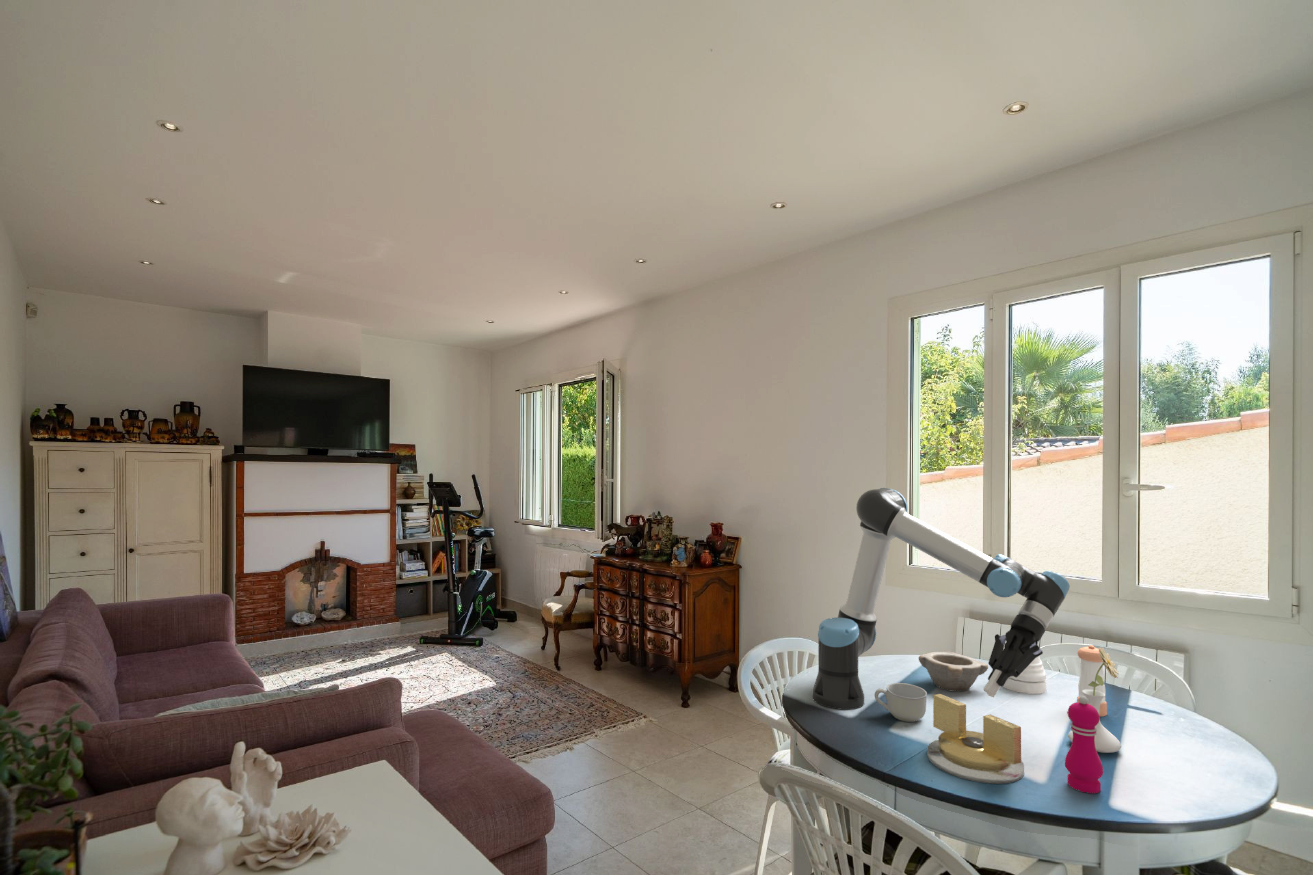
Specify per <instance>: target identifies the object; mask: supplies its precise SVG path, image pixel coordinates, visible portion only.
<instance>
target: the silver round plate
mask: <svg viewBox="0 0 1313 875" xmlns="http://www.w3.org/2000/svg"><path fill="white" fill-rule="evenodd" d="M927 758H928V760H929V762H930V763H931V764H933V766H935V767H936V768H938V769H939V770H941V771H943V772H945V773H947V774H949V775H951V776H954V777H957V778H960V779H964V780H967V781H971V782H976V783H983V784H991V785H992V784H993V785H994V784H996V785H997V784H999V785H1003V784H1011V782H1012V783H1015V782H1018V781H1020V780H1021V779H1022V778H1023V777H1024V776H1025V764H1024V762H1023V760H1022V759H1021V763H1019V764H1015V765H1013V764H1011V765H1010V766H1009V767H1007V768H1003V769H996V770H988V769H978V768H973V767H968V766H965V765H961V764H959V763H956V762H954V761H951V760H949V759H948V758H946V757H945V756H943V755H942V754H941V753H940V751H939V748H938V739H936V740H934V741H932V742H930V743H929V744H928V745H927ZM1014 781H1015V782H1014Z"/></svg>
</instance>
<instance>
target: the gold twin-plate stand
mask: <svg viewBox="0 0 1313 875" xmlns="http://www.w3.org/2000/svg"><path fill="white" fill-rule="evenodd" d="M932 696H933V699H932V700H933V704H932V705H933V709H932V710H933V711H932V712H933V715H932V716H933V717H932V718H933V720H932V722H933V723H932V724H933V725H932V726H933V728H936V729H937V730H939V731H941V733H940V734H939V735H938V739H937V740H938V748H939V751H940V753H941V754H942V755H943V756H945V757H946V758H948V759H949V760H951V761H954V762H956V763H959V764H961V765H965V766H968V767H973V768H978V769H988V770H996V769H1003V768H1007V767H1009V766H1010V765H1011V764H1013V765H1015V764H1019V763H1021V760H1022V727H1021V726H1020V725H1017V724H1014V723H1012V722H1010V721H1008V720H1004V719H1002V718H1000V717H998V716H995V715H992V714H987V715H982V716H983V717H982V721H983V725H982V726H983V728H982V730H983V731H982V732H979V731H973V730H967V704H966V703H964V702H961V701H958V700H956V699H953V698H952V697H949V696H947V695H944V694H942V693H937V694H933V695H932Z"/></svg>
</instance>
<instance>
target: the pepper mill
mask: <svg viewBox="0 0 1313 875" xmlns="http://www.w3.org/2000/svg"><path fill="white" fill-rule="evenodd" d="M1087 703H1088V699H1087V698H1086V697H1084V696H1081V697H1079V702H1077V701H1076V702H1074V703H1072V704H1070V705H1069V707H1068V709H1067V716H1068V719H1069V720H1070V721H1071V723H1070V731H1071V730H1072V731H1073V741H1072V742H1071V745H1070V748H1069V749H1068V751H1067V753H1066V756H1065V758H1064V765H1065V768H1066V770H1067V772H1069V773H1068V774H1067V785H1069V787H1070V788H1072V789H1074V790H1076V791H1078V790H1079V792H1081V793H1085V792H1088V793H1087V794H1098V793H1100V792H1101V790H1102V789H1101V781H1100V780H1099V779H1101V778H1102V777H1103V775H1104V768H1103V763H1102V760H1101V758H1100V756H1099V754H1098V752H1097V751H1096V748H1095V741H1094V739H1095V735H1097V732H1096V730H1097V728H1096V727H1095V726H1096V725H1097V724H1098V723H1099V719H1100V716H1099V713H1098V711H1097V710H1096V709H1095V708H1094V707H1093V706H1091V705H1090V704H1087Z"/></svg>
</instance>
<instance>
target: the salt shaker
mask: <svg viewBox="0 0 1313 875" xmlns="http://www.w3.org/2000/svg"><path fill="white" fill-rule="evenodd" d="M1098 649H1099V648H1097V647H1095V646H1094V645H1092V644H1090V645H1088V646H1084V647H1080V648H1079V649H1078V650H1077V653H1076V654H1077V656H1078V658H1079V659H1080V675H1079V680H1078V696H1077V697H1076V702H1079V697H1081V696H1084V697H1086V696H1085V695H1084V693H1083V692H1082V691H1083V690H1094V687H1092V686H1089V685H1088V684H1090V683H1091V682H1092V681H1094V682H1095V677H1096V673H1097V671H1098V669H1099V668H1100V666H1101V665H1102V663H1103V662H1102V660H1101V658H1100V654H1099V650H1098ZM1098 675H1099V676H1101V677H1102V679H1103V681H1104V682H1105V680H1104V665H1103V666H1102V668H1101V669H1100V671H1099V673H1098ZM1096 683H1097V684H1099V683H1098V682H1097V680H1096ZM1095 691H1100V692H1102V693H1104V694H1105V695H1106V685H1105V683H1104V684H1103V685H1102V686H1101V685H1099V686H1096V687H1095ZM1087 704H1088V703H1087ZM1107 715H1108V702H1107V701H1106V696H1105V697H1104V698H1103V699H1102V701H1101V704H1100V709H1099V717H1106V716H1107Z"/></svg>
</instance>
